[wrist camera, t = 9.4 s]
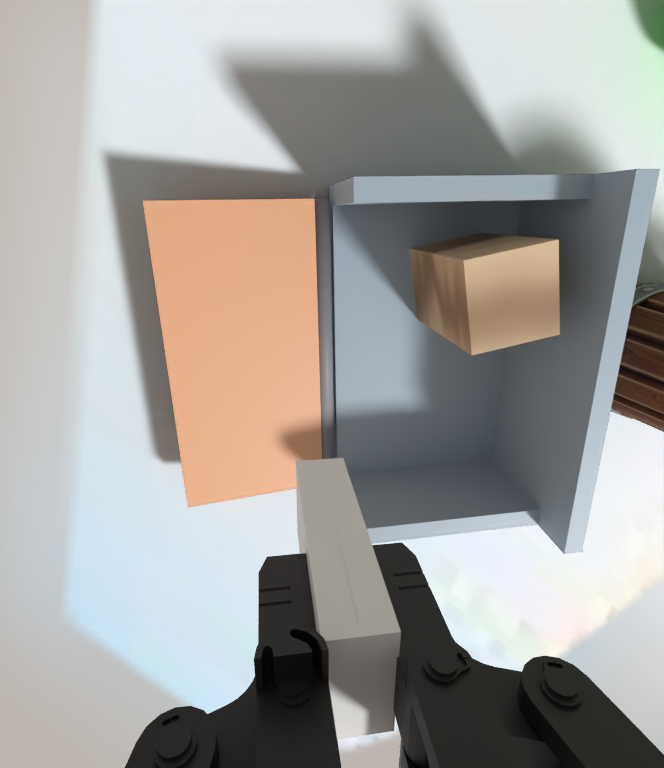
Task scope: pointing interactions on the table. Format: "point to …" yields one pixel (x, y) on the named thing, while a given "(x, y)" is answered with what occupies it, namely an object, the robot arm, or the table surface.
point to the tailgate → (245, 338)
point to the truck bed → (485, 370)
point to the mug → (643, 360)
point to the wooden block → (488, 289)
